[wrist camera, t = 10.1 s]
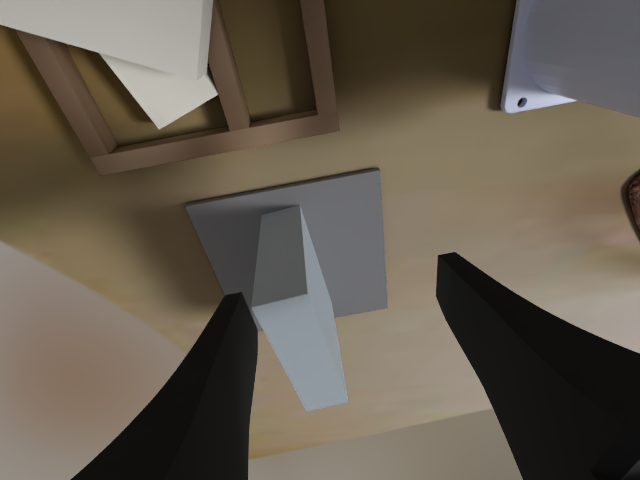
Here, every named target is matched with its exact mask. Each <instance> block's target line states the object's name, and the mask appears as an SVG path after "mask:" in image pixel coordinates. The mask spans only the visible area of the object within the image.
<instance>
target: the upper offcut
mask: <svg viewBox="0 0 640 480" xmlns="http://www.w3.org/2000/svg"><path fill="white" fill-rule="evenodd" d="M212 8H213V0H0V25H3V26H7V27H10V28H14V29H17V30H21V31H24V32H28V33H31V34H35V35H38V36H42V37H45V38H49V39H52V40H56V41H59V42H63V43H66V44H70V45H73V46H77V47H80V48H84V49H87V50H91V51H94V52H98V53H101V54H105V55H108V56H112V57H115V58H119V59H122V60H126V61H130V62H133V63H137V64H140V65H144V66H147V67H151V68H154V69H158V70H161V71H165V72H168V73H172V74H175V75H179V76H182V77H186V78H189V79H193V80H196V81H197V80H198V79H200V78H201V77H202V76H204V75H205V74H207V63H208V52H209V41H210V30H211V19H212Z"/></svg>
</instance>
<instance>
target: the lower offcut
mask: <svg viewBox="0 0 640 480" xmlns="http://www.w3.org/2000/svg"><path fill="white" fill-rule="evenodd" d="M99 54H100V55H101V56H102V58H103V59H104V60H105V61H106V63H107V64H108V65H109V66H110V68H111V69H112V70H113V72H114V73H115V74H116V75H117V77H118V78H119V79H120V80H121V82H122V83H123V84H124V86H125V87H126V88H127V89H128V91H129V92H130V93H131V94H132V96H133V97H134V98H135V99H136V101H137V102H138V103H139V105H140V106H141V107H142V108H143V110H144V111H145V112H146V113H147V115H148V116H149V117H150V119H151V120H152V121H153V122H154V124H155V125H156V126H157V127H158V129H159V130H160V129H161V128H163V127H165V126H166V125H168V124H170V123H171V122H173V121H175V120H176V119H178V118H180V117H181V116H183V115H185V114H186V113H188V112H190V111H191V110H193V109H195V108H196V107H198V106H200V105H201V104H203V103H205V102H206V101H208V100H210V99H211V98H213V97H215V96H217V95H218V91H217V88H216V85H215V82H214V79H213V75H212V72H211V70H210V69H209V67H208V66H207V74H205V75H204V76H202V77H201V78H200V79H198V80H197V81H196V80H193V79H189V78H186V77H182V76H179V75H175V74H172V73H168V72H165V71H161V70H158V69H154V68H151V67H147V66H144V65H140V64H137V63H133V62H130V61H126V60H122V59H119V58H115V57H112V56H108V55H105V54H101V53H99Z"/></svg>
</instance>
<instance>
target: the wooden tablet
mask: <svg viewBox="0 0 640 480" xmlns="http://www.w3.org/2000/svg"><path fill="white" fill-rule="evenodd" d="M628 189H629V198H630V202H631V207H632V210H633V213H634V217H635V220H636V223H637V225H638V228H639V230H640V173H639V174H638V175H637V176H636V177H635V178H634V179H633V180H632V181H631V183H630V185H629V187H628Z"/></svg>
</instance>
